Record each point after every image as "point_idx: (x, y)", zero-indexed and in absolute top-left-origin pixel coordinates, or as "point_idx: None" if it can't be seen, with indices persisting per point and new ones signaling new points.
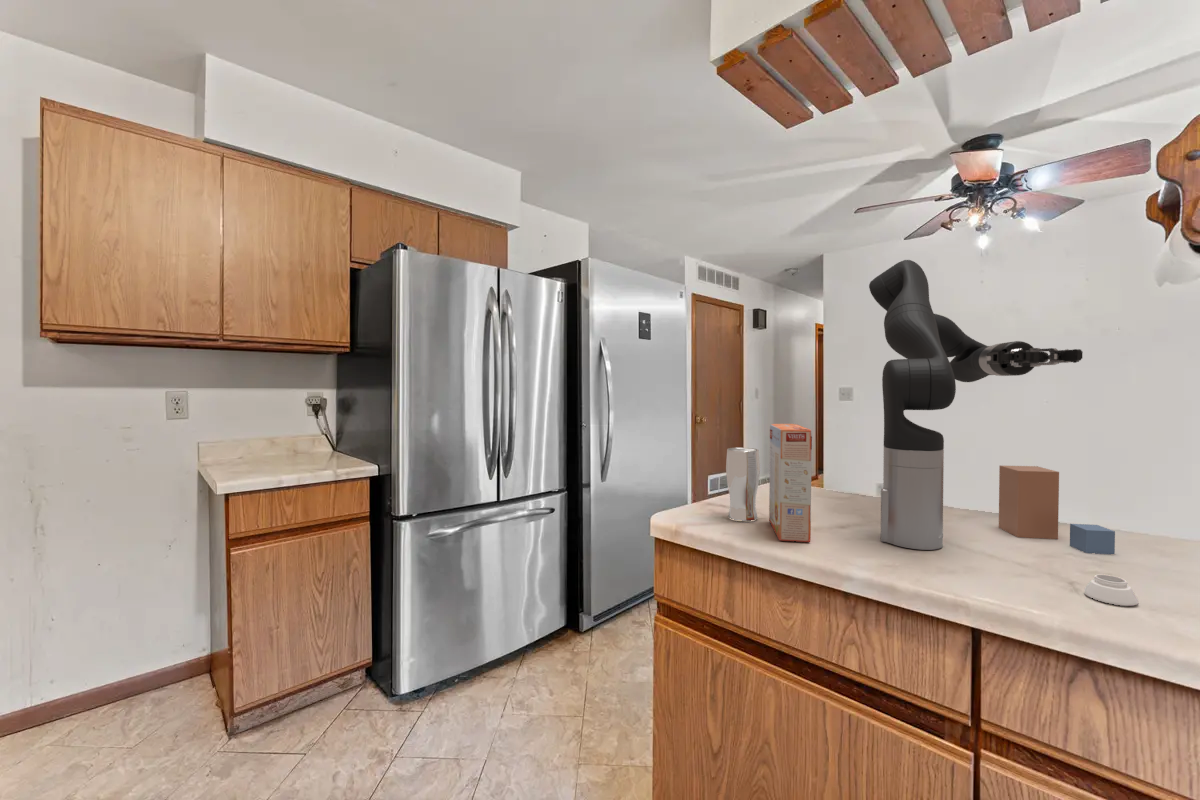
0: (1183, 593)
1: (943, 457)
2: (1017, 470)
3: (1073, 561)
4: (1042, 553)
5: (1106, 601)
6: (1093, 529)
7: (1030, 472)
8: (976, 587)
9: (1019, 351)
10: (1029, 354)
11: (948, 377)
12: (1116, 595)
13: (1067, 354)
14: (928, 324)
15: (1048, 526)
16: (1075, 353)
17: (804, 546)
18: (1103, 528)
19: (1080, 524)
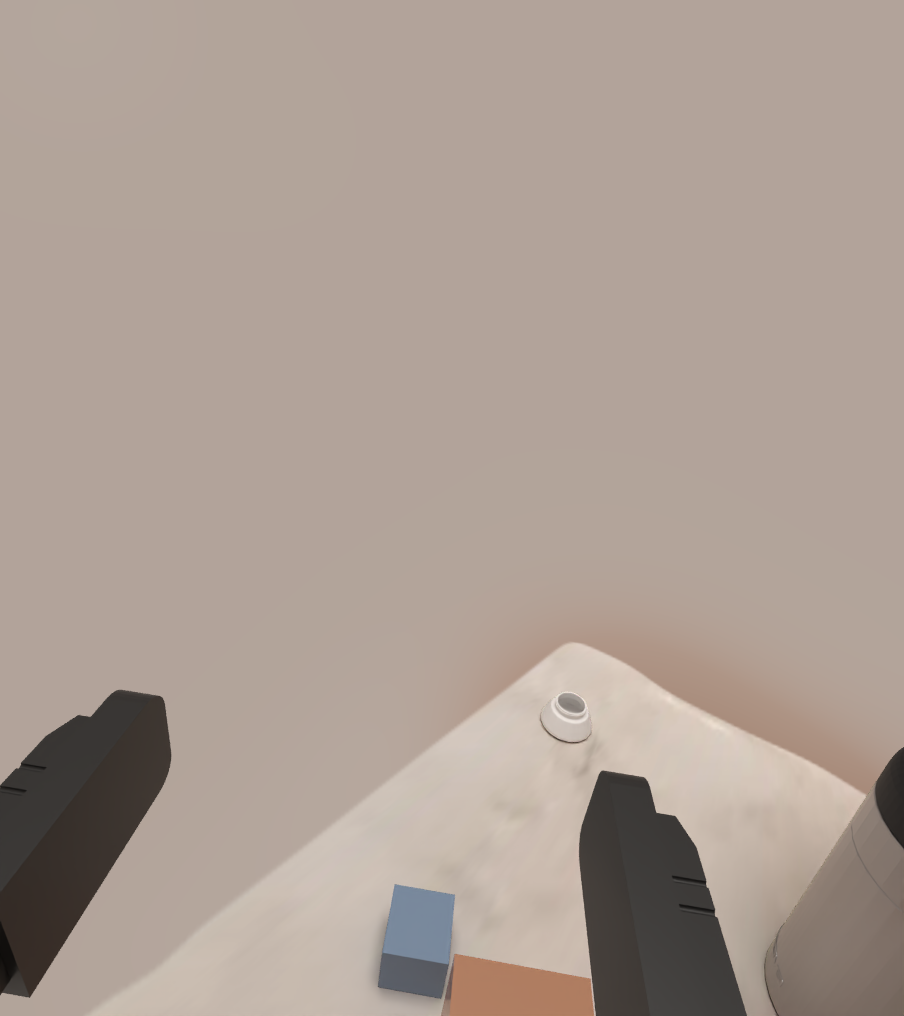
0: (453, 737)
1: (863, 815)
2: (589, 991)
3: (515, 869)
4: (549, 923)
5: (580, 709)
6: (433, 900)
7: (548, 974)
8: (721, 756)
9: (676, 908)
10: (600, 793)
11: None
12: (572, 700)
13: (60, 870)
14: None
15: None
16: (150, 739)
17: None
18: (399, 911)
19: (426, 954)
